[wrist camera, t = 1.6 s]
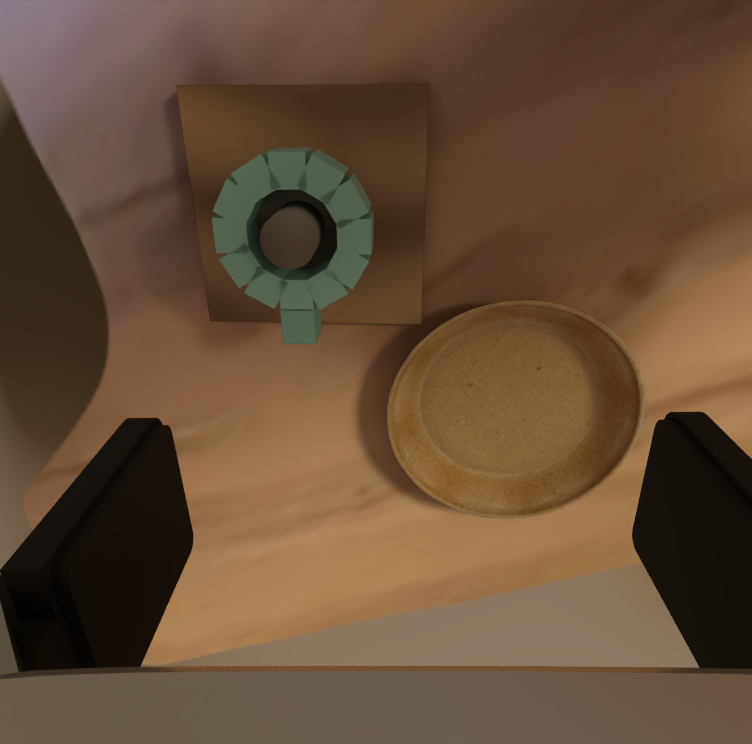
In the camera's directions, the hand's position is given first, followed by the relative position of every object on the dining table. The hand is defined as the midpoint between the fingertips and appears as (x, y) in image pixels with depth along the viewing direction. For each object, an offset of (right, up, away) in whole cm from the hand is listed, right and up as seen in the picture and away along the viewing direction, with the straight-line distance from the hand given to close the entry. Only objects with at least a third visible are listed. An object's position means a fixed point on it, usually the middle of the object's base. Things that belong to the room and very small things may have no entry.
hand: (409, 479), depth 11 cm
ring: (-4, +9, +16) cm, 19 cm away
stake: (-4, +11, +19) cm, 23 cm away
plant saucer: (+7, 0, +24) cm, 26 cm away
